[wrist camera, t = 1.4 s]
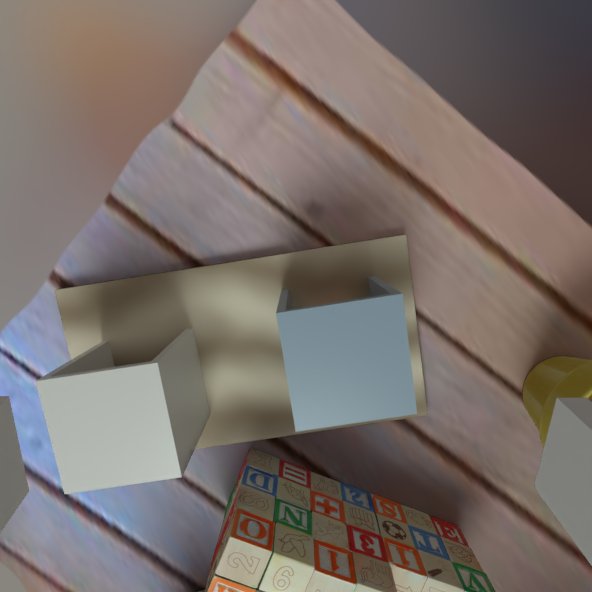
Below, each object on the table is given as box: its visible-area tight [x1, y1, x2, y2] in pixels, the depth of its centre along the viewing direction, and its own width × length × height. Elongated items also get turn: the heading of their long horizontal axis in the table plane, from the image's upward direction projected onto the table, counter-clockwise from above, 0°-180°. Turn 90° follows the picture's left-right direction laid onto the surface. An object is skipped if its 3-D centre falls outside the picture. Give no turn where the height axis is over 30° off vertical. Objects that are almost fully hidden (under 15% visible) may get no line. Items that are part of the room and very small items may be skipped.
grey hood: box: [36, 328, 210, 494], centre depth 34 cm, size 8×8×10 cm
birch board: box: [54, 235, 428, 450], centre depth 40 cm, size 16×30×1 cm, turn 99°
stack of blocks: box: [205, 448, 495, 592], centre depth 37 cm, size 21×6×12 cm, turn 69°
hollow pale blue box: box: [276, 276, 417, 432], centre depth 34 cm, size 8×8×10 cm
